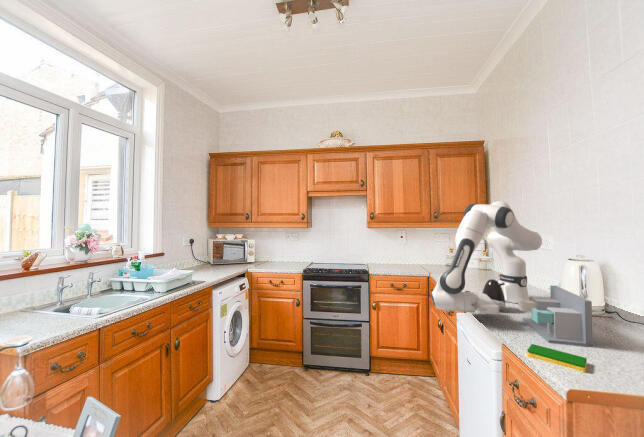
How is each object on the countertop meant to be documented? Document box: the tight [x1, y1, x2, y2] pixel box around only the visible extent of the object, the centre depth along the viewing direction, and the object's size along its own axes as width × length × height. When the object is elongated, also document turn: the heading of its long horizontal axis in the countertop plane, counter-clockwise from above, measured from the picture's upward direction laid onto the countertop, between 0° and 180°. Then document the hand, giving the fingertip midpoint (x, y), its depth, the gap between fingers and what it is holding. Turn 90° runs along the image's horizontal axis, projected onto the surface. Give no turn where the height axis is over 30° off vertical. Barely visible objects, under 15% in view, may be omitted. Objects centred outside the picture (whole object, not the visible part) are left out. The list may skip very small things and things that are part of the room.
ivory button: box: [517, 299, 537, 313], centre depth 117 cm, size 8×4×4 cm, turn 73°
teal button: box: [531, 308, 554, 324], centre depth 104 cm, size 8×4×4 cm, turn 73°
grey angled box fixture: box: [521, 285, 597, 348], centre depth 109 cm, size 14×24×16 cm, turn 163°
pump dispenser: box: [481, 278, 506, 312], centre depth 137 cm, size 10×10×15 cm
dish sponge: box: [527, 343, 588, 373], centre depth 88 cm, size 7×14×2 cm, turn 42°
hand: (504, 304), depth 121 cm, fingers closed
